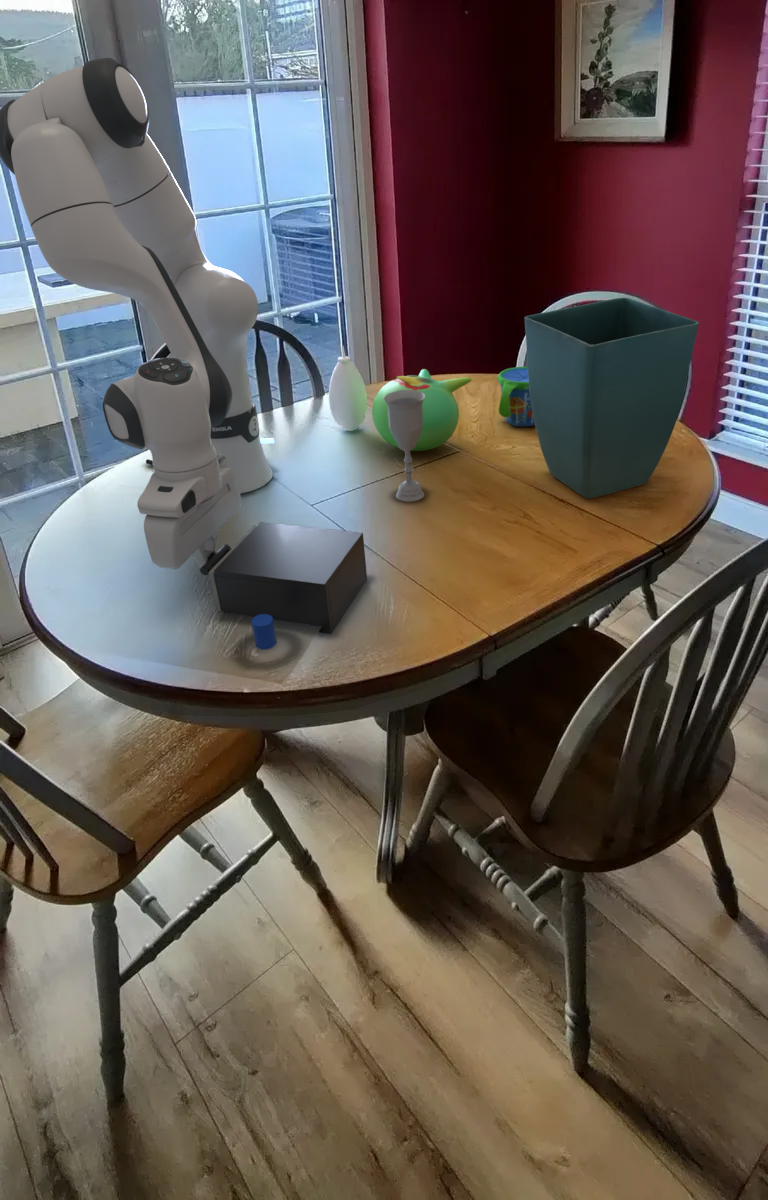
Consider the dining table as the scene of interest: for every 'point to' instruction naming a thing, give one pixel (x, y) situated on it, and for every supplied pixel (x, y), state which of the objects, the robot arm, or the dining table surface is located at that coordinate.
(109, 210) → the robot arm
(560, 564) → the dining table surface
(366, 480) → the dining table surface
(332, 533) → the dark grey drawer cabinet
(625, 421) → the flower pot
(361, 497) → the dining table surface
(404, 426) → the chalice
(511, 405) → the snack cup
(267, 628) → the lid
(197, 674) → the dining table surface
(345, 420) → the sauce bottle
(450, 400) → the toy bird
